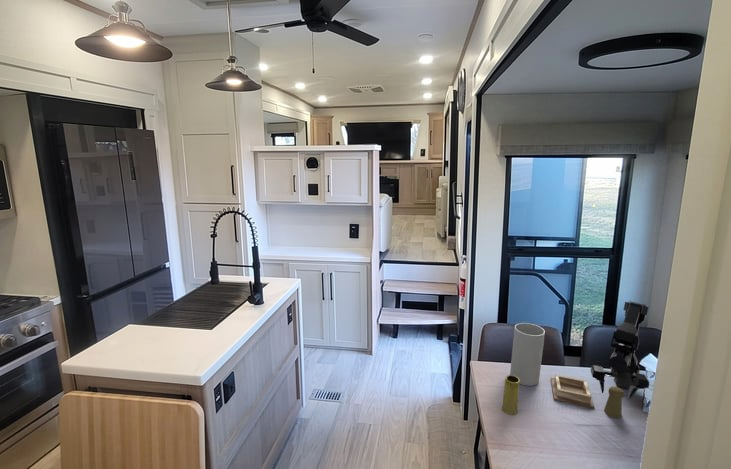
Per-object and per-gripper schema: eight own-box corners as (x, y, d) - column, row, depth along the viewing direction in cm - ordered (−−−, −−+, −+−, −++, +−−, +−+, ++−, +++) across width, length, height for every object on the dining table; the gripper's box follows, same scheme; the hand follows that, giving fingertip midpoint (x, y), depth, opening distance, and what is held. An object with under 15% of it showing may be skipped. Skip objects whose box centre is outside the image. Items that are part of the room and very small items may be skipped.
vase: (517, 407, 155) (521, 376, 152) (517, 416, 149) (520, 385, 146) (502, 403, 157) (505, 373, 154) (500, 412, 152) (503, 381, 149)
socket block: (550, 379, 174) (551, 371, 174) (587, 386, 169) (588, 378, 168) (553, 399, 160) (554, 391, 159) (594, 408, 155) (595, 400, 154)
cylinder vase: (509, 382, 172) (514, 332, 166) (510, 368, 183) (515, 321, 178) (539, 389, 167) (545, 337, 162) (538, 374, 178) (544, 325, 173)
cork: (624, 419, 149) (628, 394, 146) (607, 416, 150) (611, 392, 148) (617, 409, 155) (621, 385, 152) (601, 407, 156) (605, 383, 153)
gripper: (598, 365, 143) (592, 401, 147) (657, 376, 137) (650, 413, 140) (592, 351, 153) (587, 385, 157) (647, 360, 147) (641, 396, 150)
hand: (615, 395), depth 151 cm, fingers open, 9 cm apart
